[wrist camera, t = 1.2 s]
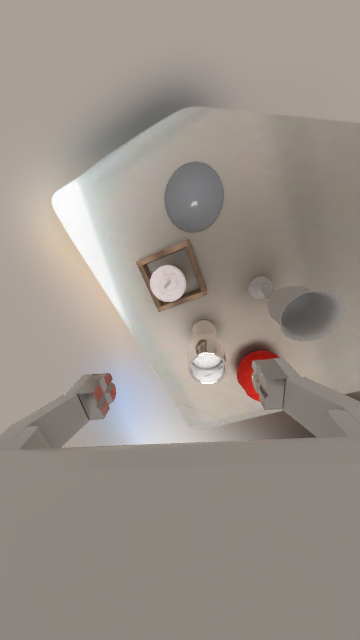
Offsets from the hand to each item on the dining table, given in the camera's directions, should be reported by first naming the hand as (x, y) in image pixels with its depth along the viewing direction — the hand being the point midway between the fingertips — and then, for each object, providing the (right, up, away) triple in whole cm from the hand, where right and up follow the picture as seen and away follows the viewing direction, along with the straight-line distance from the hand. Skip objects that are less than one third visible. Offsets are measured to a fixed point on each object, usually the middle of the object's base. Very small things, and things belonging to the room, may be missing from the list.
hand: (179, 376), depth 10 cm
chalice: (+18, +10, +28) cm, 35 cm away
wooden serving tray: (-1, +13, +28) cm, 31 cm away
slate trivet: (+3, +26, +23) cm, 35 cm away
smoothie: (-1, +13, +29) cm, 32 cm away
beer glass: (+6, +1, +33) cm, 34 cm away
